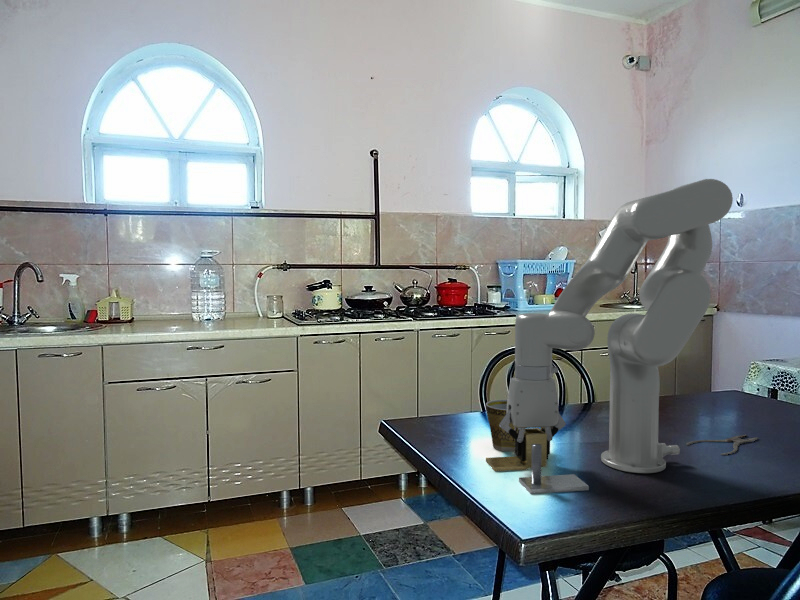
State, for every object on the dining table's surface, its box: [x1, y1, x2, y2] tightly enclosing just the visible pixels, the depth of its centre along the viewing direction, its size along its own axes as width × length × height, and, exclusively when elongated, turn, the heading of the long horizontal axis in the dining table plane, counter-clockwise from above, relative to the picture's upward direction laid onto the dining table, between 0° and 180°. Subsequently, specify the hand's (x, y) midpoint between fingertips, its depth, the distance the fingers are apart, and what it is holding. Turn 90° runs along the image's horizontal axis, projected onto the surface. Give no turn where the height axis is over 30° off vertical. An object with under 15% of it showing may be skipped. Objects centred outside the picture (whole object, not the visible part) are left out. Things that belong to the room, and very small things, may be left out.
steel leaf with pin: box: [518, 444, 590, 495], centre depth 106 cm, size 11×6×8 cm, turn 98°
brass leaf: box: [485, 427, 548, 472], centre depth 117 cm, size 11×6×7 cm, turn 98°
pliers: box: [685, 434, 759, 456], centre depth 132 cm, size 10×1×20 cm
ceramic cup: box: [485, 399, 515, 453], centre depth 131 cm, size 13×10×10 cm
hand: (532, 457), depth 118 cm, fingers closed on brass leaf, 4 cm apart
